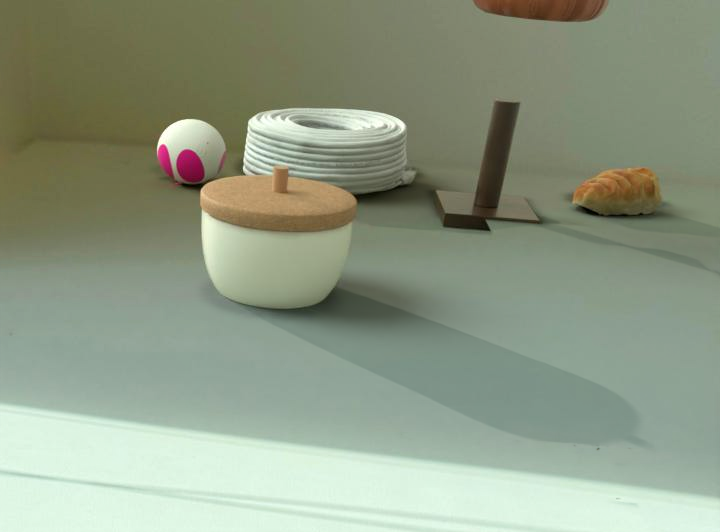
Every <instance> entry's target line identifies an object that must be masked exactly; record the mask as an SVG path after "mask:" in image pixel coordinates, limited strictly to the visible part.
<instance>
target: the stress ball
mask: <svg viewBox="0 0 720 532" xmlns="http://www.w3.org/2000/svg"><path fill="white" fill-rule="evenodd" d="M158 136H159V139H158V142H157V148H156V155H157V160H158V162H159V165H160V167H161V168H162V170H163V172H164V173H166V175H167V176H169V177H170V178H171V179H173V180H175V181H177V182H176V183H173V184H170V185H167V186H166V188H169V187H172V186H177V185H181V184H185V185H201V184H204V183H208V182H210V181H212V179H214V178H215V177H217V175H218V174H219V173H220V172H221V170H222V169H223V167H224V165H225V162H226V156H227V149H226V144H225V140H224V139H223V137H222V135H221V134H220V132H219V131H218V130H217V129H216V128H215V127H214V126H213V125H211V124H209V123H208V122H206V121H203V120H201V119H194V118H187V119H180V120H178V121H176V122H174V123H172V124H170V125H169V126H167V128H166V129H165V130H164V131H163V132H162V133H161V134H158Z"/></svg>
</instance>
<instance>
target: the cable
mask: <svg viewBox="0 0 720 532" xmlns="http://www.w3.org/2000/svg"><path fill="white" fill-rule="evenodd" d="M407 132H408V128H407V124H406V123H405V122H404V121H403V120H401V119H400V118H398V117H396V116H393V115H391V114H387V113H384V112H378V111H374V110H373V111H371V110H364V109H363V110H362V109H351V108H349V109H348V108H347V109H346V108H320V107H319V108H316V107H315V108H314V107H306V108H305V107H294V108H293V107H291V108H283V109H273V110H272V109H271V110H267V111H261V112H259V113H257V114H255V115H254V116H252V117H251V118H249V120H248V121H247V133H246V139H245V145H244V154H243V155H244V156H243V160H242V161H243V166H242V171H243V173H244V175H272V176H273V169H274V166H286V167H289V173H288V177H295V178H303V179H308V180H314V181H318V182H323V183H327V184H330V185H333V186H336V187H339V188H341V189H343V190H345V191H347V192H349V193H351V194H352V195H353V196H356V195H366V194H372V193H376V192H377V193H378V192H385V191H389V190H392V189H394V188H396V187H399V186H400V187H401V186H404V185H411V184H412V182H414V180H415V178H416V176H417V174H418V170H417V169H414V168H413V166H412V165H410V164H407V163H408V160H407V138H408V134H407Z"/></svg>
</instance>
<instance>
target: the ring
mask: <svg viewBox="0 0 720 532" xmlns="http://www.w3.org/2000/svg"><path fill="white" fill-rule="evenodd" d="M472 2H473V5H474V6H475V7H476V8H478V9H479V10H480V11H482V12H483V13H485V14H486V13H487V14H492V15H496V16H502V17H509V18H517V19H524V20H525V19H526V20H534V21H547V22H559V23H561V22H563V23H584V22H589V21H593V20H595V19H597V18H599V17H600V16H601V15H602V14H604V12H606V9H607V7H608V5H609V3H610V0H472Z"/></svg>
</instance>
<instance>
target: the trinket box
mask: <svg viewBox="0 0 720 532" xmlns="http://www.w3.org/2000/svg"><path fill="white" fill-rule="evenodd" d="M288 173H289V167H286V166H274V169H273V176H272V175H246V174H244V175H235V176H227V177H222V178H217V179H214V180H211V181H208V182H206V184H204V185H203V187H201V189H200V194H199V195H200V197H199V200H200V201H199V202H200V203H199V205H200V207H201V231H200V232H201V245H202V253H203V259H204V265H205V267H206V270H207V273H208V276H209V278H210V280H211V282H212V284H213V286H214V287H215V289H216V290H217V291H218V293H220V295H222V296H223V297H224V298H227V299H229V300H230V301H233V302H236V303H239V304H243V305H246V306H250V307H256V308H264V309H275V310H276V309H277V310H281V309H282V310H284V309H285V310H287V309H288V310H290V309H300V308H301V309H302V308H307V307H312V306H314V305H317V304H319V303H321V302H322V301H324V300H325V299H326V298H327V297H328V296H329V295H330V294H331V292H332V291H333V290H334V288H335V287H336V285H337V283H338V281H339V280H340V278H341V276H342V274H343V272H344V271H343V270H344V268H345V266H346V265H345V264H346V262H347V258H348V254H349V250H350V246H351V239H352V234H353V226H354V220H355V219H356V215H357V208H358V201H357V198H356V197H355V195H352V194H351V193H349V192H347V191H345V190H343V189H341V188H339V187H336V186H333V185H330V184H327V183H323V182H318V181H314V180H308V179H303V178H295V177H288Z"/></svg>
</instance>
